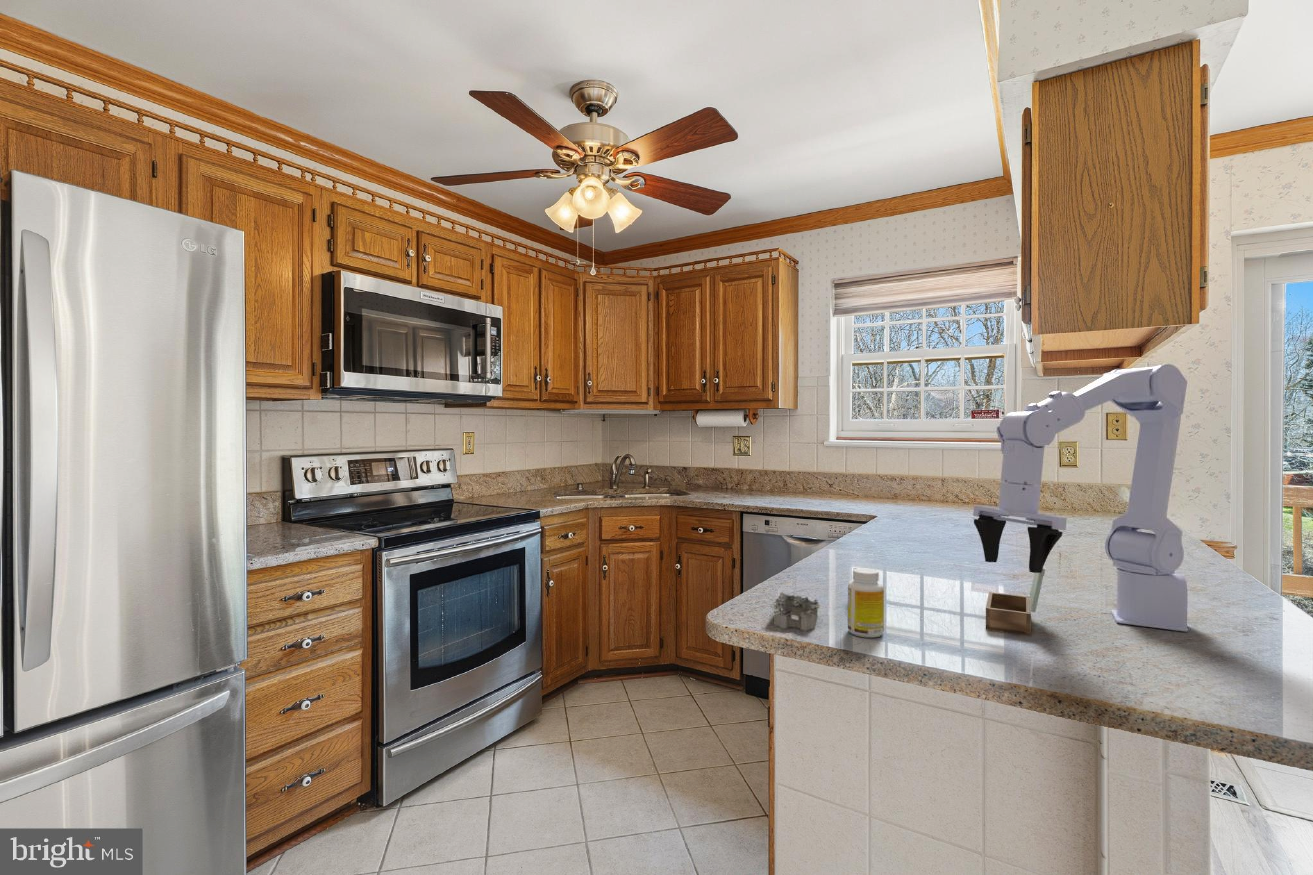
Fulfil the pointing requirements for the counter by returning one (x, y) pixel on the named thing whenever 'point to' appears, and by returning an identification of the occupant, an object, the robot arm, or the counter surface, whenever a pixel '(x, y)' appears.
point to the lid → (1036, 589)
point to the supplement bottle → (865, 604)
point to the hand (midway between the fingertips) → (1012, 567)
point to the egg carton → (795, 612)
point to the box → (1008, 613)
